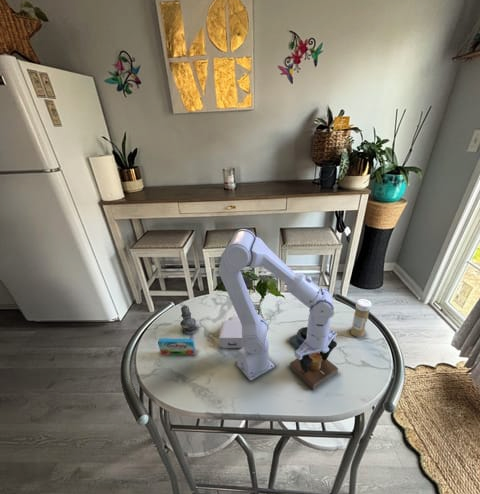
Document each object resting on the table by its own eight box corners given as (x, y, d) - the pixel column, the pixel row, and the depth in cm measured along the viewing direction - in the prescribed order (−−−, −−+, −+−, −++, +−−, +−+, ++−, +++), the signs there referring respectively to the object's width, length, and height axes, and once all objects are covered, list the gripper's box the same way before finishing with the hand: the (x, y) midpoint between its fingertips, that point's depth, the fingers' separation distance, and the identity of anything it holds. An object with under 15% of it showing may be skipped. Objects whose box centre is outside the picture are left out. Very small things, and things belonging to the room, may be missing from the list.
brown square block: (313, 390, 78) (313, 384, 77) (289, 368, 86) (290, 362, 84) (337, 373, 83) (338, 368, 81) (313, 354, 90) (313, 348, 88)
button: (307, 341, 90) (308, 337, 90) (298, 334, 94) (298, 330, 93) (317, 336, 92) (317, 332, 91) (308, 329, 96) (308, 325, 95)
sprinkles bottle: (367, 334, 96) (374, 303, 88) (357, 339, 94) (364, 308, 87) (357, 327, 99) (363, 296, 92) (347, 331, 98) (353, 301, 90)
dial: (313, 372, 80) (314, 363, 78) (304, 364, 83) (305, 355, 81) (323, 366, 82) (324, 357, 80) (313, 358, 85) (314, 349, 83)
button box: (304, 354, 90) (305, 347, 88) (289, 341, 95) (289, 334, 93) (325, 341, 94) (326, 334, 92) (310, 330, 100) (310, 322, 98)
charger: (248, 320, 106) (246, 348, 94) (225, 320, 107) (219, 347, 95) (248, 310, 104) (245, 338, 91) (224, 310, 105) (218, 337, 92)
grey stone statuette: (200, 330, 103) (195, 305, 97) (185, 337, 101) (179, 311, 94) (193, 322, 107) (188, 297, 101) (179, 328, 105) (173, 303, 98)
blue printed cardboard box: (196, 352, 94) (193, 338, 91) (195, 355, 93) (192, 342, 89) (162, 351, 95) (158, 338, 92) (161, 354, 94) (157, 341, 91)
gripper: (309, 350, 69) (305, 385, 77) (347, 327, 75) (341, 361, 83) (290, 335, 74) (288, 368, 82) (327, 314, 80) (323, 347, 88)
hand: (313, 364), depth 82 cm, fingers open, 7 cm apart
